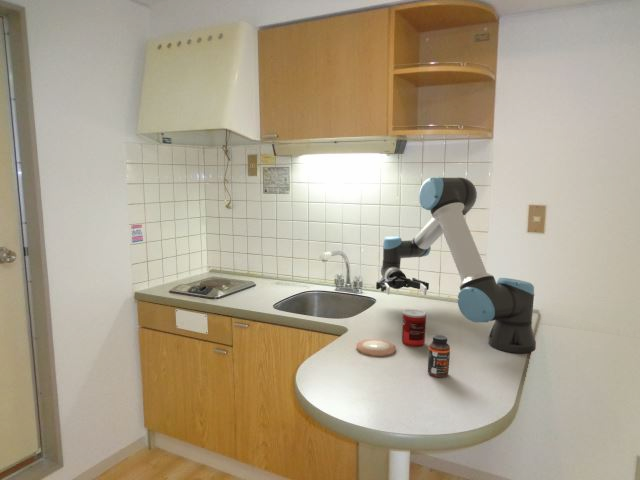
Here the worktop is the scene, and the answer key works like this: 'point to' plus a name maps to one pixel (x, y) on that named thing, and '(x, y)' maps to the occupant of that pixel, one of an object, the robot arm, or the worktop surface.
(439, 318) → the worktop surface
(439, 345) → the supplement bottle
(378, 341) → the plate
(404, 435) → the worktop surface
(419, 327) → the canned food
